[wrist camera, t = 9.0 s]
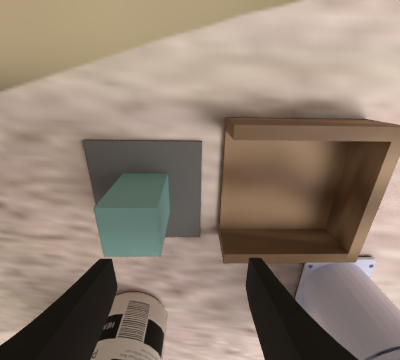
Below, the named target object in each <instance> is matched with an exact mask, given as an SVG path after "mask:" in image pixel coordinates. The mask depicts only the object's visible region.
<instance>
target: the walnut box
mask: <svg viewBox="0 0 400 360" xmlns="http://www.w3.org/2000/svg"><path fill="white" fill-rule="evenodd" d="M399 157H400V125H397V124H391V123H385V122H380V121H374V120H368V119H309V118H233V117H226V127H225V142H224V158H223V174H222V190H221V206H220V222H219V239H220V245H221V251H222V257H223V263H249V258H262V259H263V261H264V262H265V263H350V262H356V261H357V259H358V256H359V254H360V251H361V249H362V247H363V244H364V242H365V239H366V237H367V234H368V232H369V230H370V227H371V225H372V222H373V220H374V217H375V215H376V213H377V210H378V208H379V205H380V203H381V200H382V198H383V196H384V193H385V191H386V188H387V186H388V183H389V181H390V178H391V176H392V174H393V171H394V169H395V166H396V164H397V161H398V159H399Z"/></svg>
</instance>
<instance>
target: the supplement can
mask: <svg viewBox="0 0 400 360" xmlns="http://www.w3.org/2000/svg"><path fill="white" fill-rule="evenodd" d="M166 324H167V313H166V310H165V308H164V307H163V306H162V305H161V303H160V302H159V301H158V300H156V299H155V298H154V297H152V296H150V295H148V294H145V293H140V292H126V293H123V294H119V295H117V296H116V297H115V298H114V302H113V305H112V308H111V311H110V313H109V316H108V318H107V321H106V323H105V326H104V328H103V331H102V333H101V335H100V338H99V340H98V343H97V345H96V347H95V350H94V352H93V355H92V357H91V360H162V357H163V349H164V341H165V332H166Z"/></svg>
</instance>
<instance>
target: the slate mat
mask: <svg viewBox="0 0 400 360" xmlns="http://www.w3.org/2000/svg"><path fill="white" fill-rule="evenodd" d="M83 145H84V150H85V155H86V160H87V164H88V169H89V174H90V179H91V183H92V188H93V193H94V198H95V202H96V205H97V203H98V202H99V201H100V200H101V199H102V198H103V196H104V195H105V194H106V193H107V192H108V191H109V189H110V188H111V187H112V186H113V185H114V183H115V182H116V181H117V180H118V179H119V178H120V176H121V175H122V174H123V173H168V184H169V204H170V213H169V218H168V223H167V228H166V233H165V237H200V210H201V157H202V141H156V140H83Z"/></svg>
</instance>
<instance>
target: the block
mask: <svg viewBox="0 0 400 360" xmlns="http://www.w3.org/2000/svg"><path fill="white" fill-rule="evenodd" d="M94 212H95V217H96V222H97V226H98V231H99V235H100V240H101V244H102V249H103V254H104V257H139V256H161V253H162V248H163V243H164V238H165V233H166V228H167V223H168V218H169V213H170V204H169V184H168V173H123V174H122V175H121V176H120V178H119V179H118V180H117V181H116V182H115V183H114V185H113V186H112V187H111V188H110V189H109V191H108V192H107V193H106V194H105V195H104V196H103V198H102V199H101V200H100V201H99V202H98V203H97V205H96V206H95V207H94Z"/></svg>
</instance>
